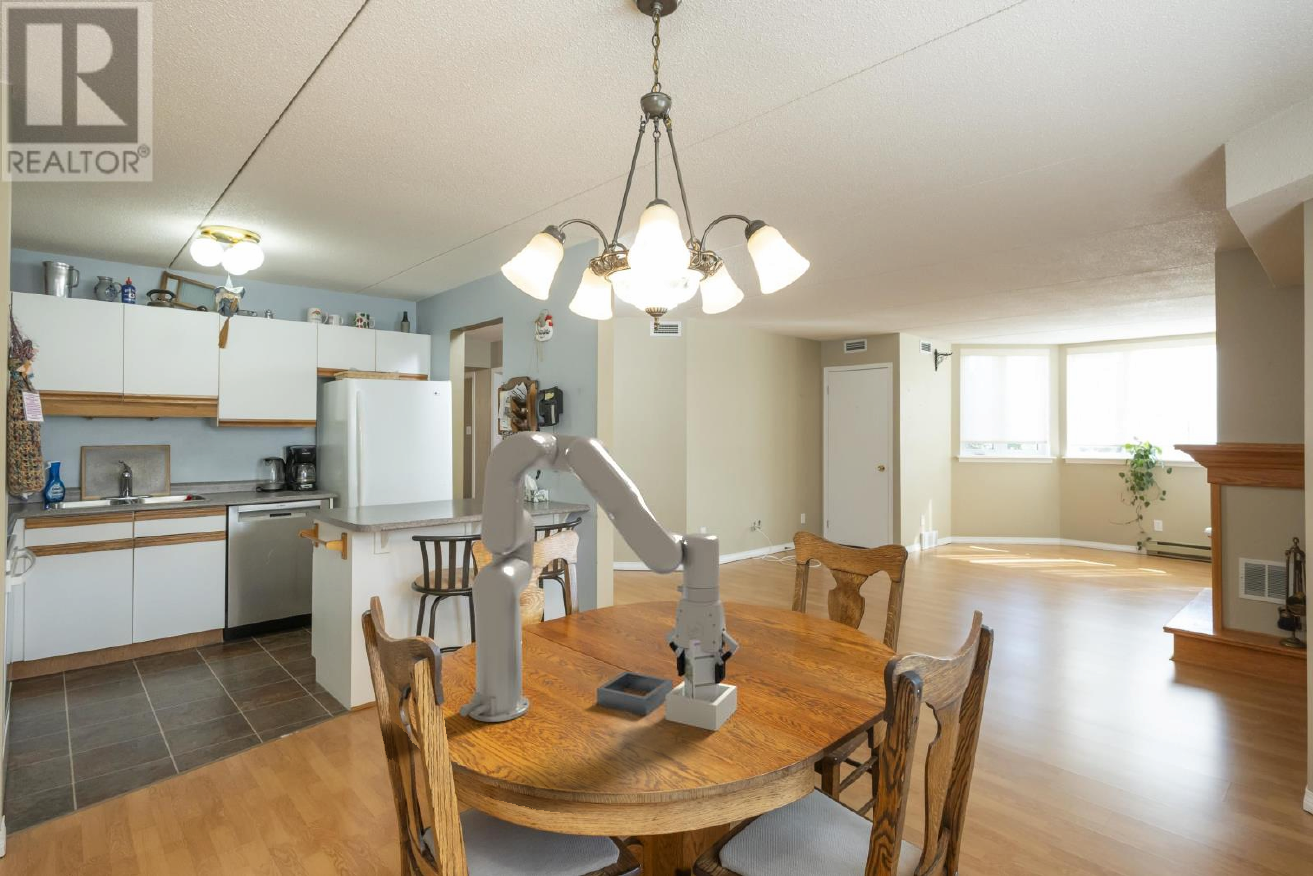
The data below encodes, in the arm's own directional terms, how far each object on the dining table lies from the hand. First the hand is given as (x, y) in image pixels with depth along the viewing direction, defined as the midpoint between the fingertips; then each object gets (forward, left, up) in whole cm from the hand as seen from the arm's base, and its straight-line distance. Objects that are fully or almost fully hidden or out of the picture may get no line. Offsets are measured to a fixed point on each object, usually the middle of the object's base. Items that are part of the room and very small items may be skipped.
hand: (700, 677), depth 134 cm
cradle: (0, 0, -8) cm, 8 cm away
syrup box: (0, 0, -6) cm, 6 cm away
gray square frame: (0, +16, -8) cm, 18 cm away
